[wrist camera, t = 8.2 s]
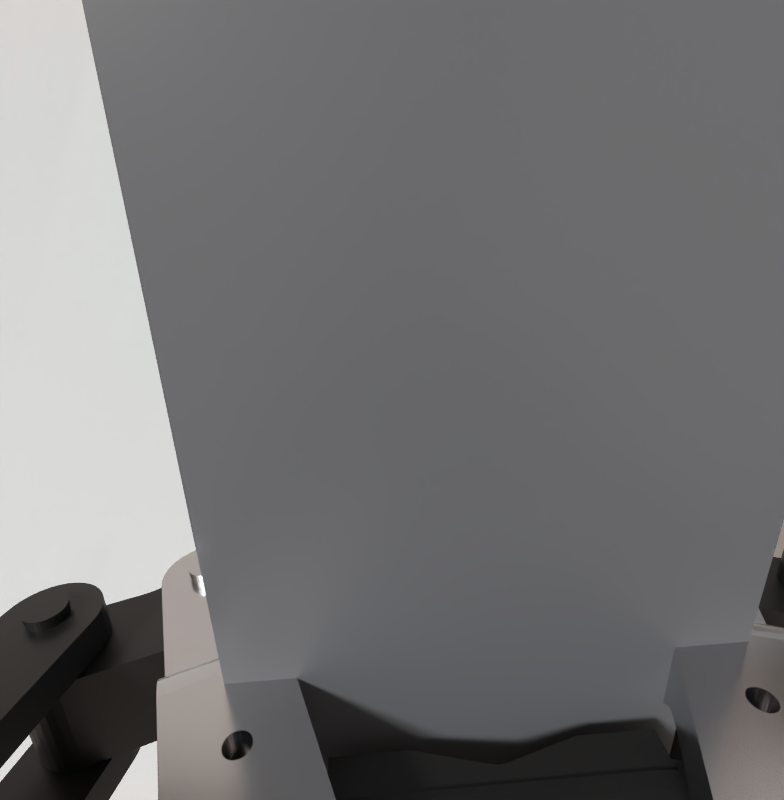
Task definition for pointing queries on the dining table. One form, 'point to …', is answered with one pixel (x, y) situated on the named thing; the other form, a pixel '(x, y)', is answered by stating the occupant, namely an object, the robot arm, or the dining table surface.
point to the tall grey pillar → (463, 344)
